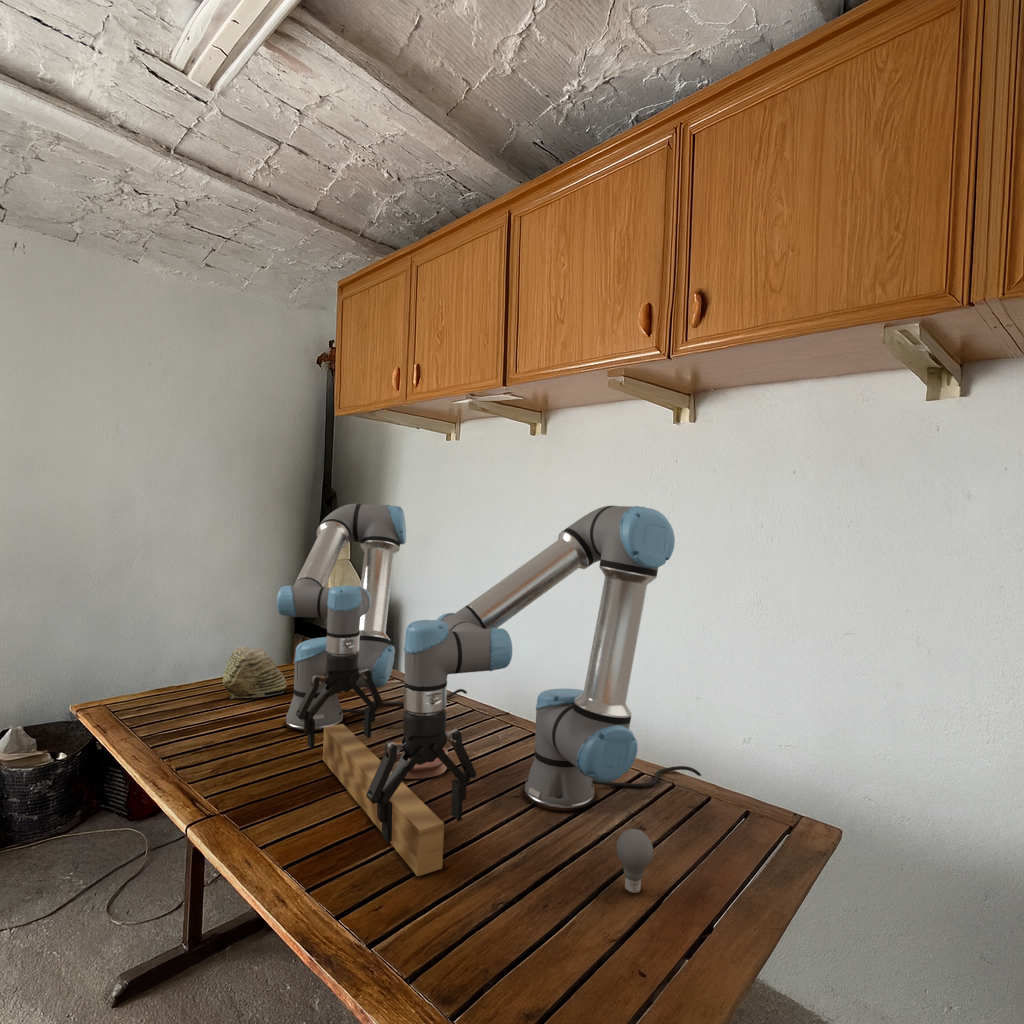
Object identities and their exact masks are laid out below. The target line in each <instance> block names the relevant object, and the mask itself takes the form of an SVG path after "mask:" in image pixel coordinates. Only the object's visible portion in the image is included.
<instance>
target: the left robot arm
mask: <svg viewBox="0 0 1024 1024" xmlns="http://www.w3.org/2000/svg"><path fill="white" fill-rule="evenodd" d="M405 517H406V516H405V512H404V510H403V508H402V507H401V506H400V505H399V506H398V505H391V504H390V505H389V504H368V503H348V504H345V505H342V506H340V507H338V508H336V509H334V510H333V511H332V512H330V513H329V514H328V515H327V516H325V517H324V518H323V520H322V521H321V522H320V524H319V525H318V527H317V530H316V540H315V541H314V544H313V545H312V547H311V550H310V552H309V553H308V556H307V558H306V560H305V562H304V564H303V566H302V568H301V569H300V572H299V574H298V576H297V577H296V580H295V582H294V584H293V585H291V584H290V585H283V586H282V587H280V588H279V590H278V593H277V595H276V609H277V612H278V614H279V615H280V616H284V617H294V618H323V619H326V636H323V637H322V636H321V637H315V638H311V639H307V640H304V641H302V642H300V643H298V644H297V645H296V648H295V655H294V660H293V662H294V672H293V673H294V674H293V695H292V696H293V697H292V699H291V702H290V704H289V708H288V711H287V713H286V715H285V726H286V728H287V729H289V730H291V731H294V732H295V731H296V732H301V733H305V734H306V735H307V746H308V748H309V749H310V750H312V749H315V738H316V737H315V735H316V732H324V727H327V726H333V725H340V724H343V722H344V714H343V713H351V714H353V713H354V714H362V713H363V714H364V724H363V735H364V736H365V737H366V738H367V739H370V738H372V723H375V721H376V711H378V708H379V707H382V706H404V701H383V699H382V696H381V695H380V693H379V690H378V689H379V688H380V689H381V688H384V687H385V686H386V685H387V684H388V682H389V680H390V677H391V675H392V671H393V668H394V662H395V653H396V650H395V649H396V648H395V646H394V645H392V644H391V638H390V637H389V636H388V635H387V633H386V632H387V622H388V615H389V614H388V613H389V604H390V595H391V586H392V575H393V566H394V557H395V554H397V553H398V552H399V551H400V548H401V546H402V545H405V544H406V542H407V528H406V518H405ZM352 542H353V543H360V544H359V546H360V547H359V548H360V549H362V551H363V552H364V555H363V562H362V563H363V564H362V571H361V577H360V579H361V580H360V586H359V585H337V586H332V587H326V586H327V584H328V582H329V580H330V577H331V575H332V572H333V571H334V568H335V565H336V563H337V561H338V558H339V557H340V555H341V552H342V550H343V548H346V546H347V545H348V544H349V543H352ZM362 688H363V689H364V688H366V689H368V690H369V692H370V695H371V696H372V698H373V701H372V700H371V699H370V698H369V697H368V695H367V694H366V693H365V692H364V691H363V690H362ZM351 690H352V691H354V692H355V693H356V695H358V696H359V698H360V699H361V700H362V701H363V702H364V703H365V704H366V705H367V707H364V709H353V708H352V709H350V708H349V709H347V708H342V706H341V702H340V699H339V695H338V694H341V693H348V692H350V691H351ZM458 693H463V694H465V695H466V694H468V692H467V690H465V689H463V688H458V689H457V690H455V691H453V692H451V693H448V694H447V697H446V699H449V698H451V697H453V696H455V695H457V694H458Z"/></svg>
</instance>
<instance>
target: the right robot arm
mask: <svg viewBox="0 0 1024 1024" xmlns="http://www.w3.org/2000/svg"><path fill="white" fill-rule="evenodd" d="M674 532H675V531H674V529H673V526H672V524H671V523H670V522H669V520H668V518H667V517H666V516H665V515H664V514H663V513H662V512H660V511H659V510H657V509H654V508H650V507H645V506H639V505H633V506H632V505H630V506H629V505H627V506H626V505H606V506H605V505H604V506H602V507H598V508H596V509H594V510H592V511H590V512H588V513H587V514H585V515H584V516H582V517H581V518H579V519H577V520H576V521H575V522H573V523H572V524H570V525H569V526H568V527H566V528H564V529H563V530H561V532H559V533H558V536H557V540H556V541H554V542H553V543H551V544H550V545H549V546H547V547H546V548H545V549H543V550H542V551H540V552H539V553H538V554H537V555H535V556H534V557H532V558H531V559H529V560H528V561H527V562H525V563H524V564H522V565H521V566H519V567H518V568H517V569H515V570H514V571H512V572H511V573H509V575H507V576H505V577H504V578H503V579H501V580H500V581H499V582H497V583H496V584H495V585H493V586H491V587H490V588H489V589H488V590H486V591H484V592H483V593H481V595H479V596H478V597H476V598H474V600H472V601H471V602H469V603H468V604H466V605H465V606H464V607H462V608H461V609H460V610H458V611H456V612H447V613H443V614H442V615H440V616H439V617H437V619H420V620H419V619H418V620H415V621H412V622H410V623H409V624H407V626H406V628H405V637H404V647H403V652H404V684H403V702H404V705H403V709H404V711H403V717H402V718H403V721H402V732H403V737H402V739H401V741H399V742H398V741H397V742H393V741H392V740H387V741H386V742H385V744H384V746H385V747H384V754H383V757H382V758H381V760H380V761H381V763H380V765H379V767H378V769H377V772H376V774H375V776H374V778H373V781H372V783H371V785H370V787H369V789H368V792H367V794H366V796H367V798H368V799H369V800H370V801H371V802H372V803H373V804H375V803H377V818H378V820H379V821H380V822H381V823H382V832H381V836H382V838H383V839H384V840H385V841H386V843H390V842H391V841H392V803H391V802H390V801H389V800H390V798H391V797H392V795H393V794H394V792H395V791H396V790H397V788H398V787H399V785H400V784H401V782H403V781H404V778H405V776H406V775H407V773H408V772H409V771H410V770H412V769H413V767H414V766H415V765H416V764H418V765H421V764H424V763H426V762H434V760H435V759H436V758H437V757H438V758H439V759H440V761H441V762H442V763H443V764H444V765H445V766H446V767H447V770H448V771H449V772H450V773H451V774H452V775H453V776H454V777H455V779H452V780H451V807H450V808H451V810H450V811H451V812H450V815H451V817H453V818H454V820H456V821H457V822H461V821H463V800H466V798H467V786H469V784H470V783H471V780H470V779H474V778H476V777H477V771H476V769H475V767H474V765H473V763H472V761H471V759H470V756H469V754H468V752H467V750H466V748H465V745H464V743H463V738H462V737H463V736H462V732H461V731H459V730H458V729H457V728H455V727H451V728H450V729H449V730H448V731H446V729H447V711H446V708H447V698H446V697H447V695H448V694H447V691H448V689H447V688H448V675H456V674H467V673H480V672H493V671H496V670H502V669H505V668H507V667H508V666H509V665H510V663H511V662H512V658H513V643H512V638H511V636H510V634H509V633H510V632H508V630H506V629H505V628H502V627H501V626H502V625H503V624H505V623H507V621H509V620H510V619H512V618H513V617H514V616H516V615H517V614H518V613H520V612H521V611H523V610H524V609H525V608H527V607H528V606H529V605H531V604H532V603H534V602H535V601H536V600H537V599H539V598H540V597H542V596H543V595H544V594H545V593H547V592H548V591H550V590H552V588H554V587H555V586H556V585H558V584H560V582H562V581H563V580H565V579H567V577H569V576H570V575H571V574H572V573H574V572H575V571H577V570H578V569H579V570H580V569H581V570H586V569H587V568H589V567H590V566H592V565H593V564H595V563H597V562H599V566H598V567H599V569H600V571H601V572H602V574H603V576H604V581H603V586H602V591H601V597H600V601H599V608H598V611H597V618H596V624H595V628H594V635H593V639H592V646H591V651H590V656H589V659H588V660H589V661H588V666H587V671H586V677H585V682H584V688H583V689H578V688H551V689H546V690H543V691H541V692H540V693H539V694H538V695H537V700H536V704H535V705H536V706H535V712H536V713H535V731H534V733H535V734H534V757H533V761H532V764H531V766H530V769H529V773H528V776H527V777H526V779H525V783H524V796H525V798H526V799H527V800H528V802H530V803H531V804H533V805H534V806H537V807H538V808H542V809H545V810H549V811H555V812H577V811H580V810H583V809H586V808H588V807H589V806H591V805H592V804H593V803H594V800H595V786H594V785H599V786H608V787H609V786H610V787H620V788H621V787H622V788H649V787H651V786H654V785H655V784H656V783H657V782H658V780H659V776H660V775H661V774H663V773H667V772H668V773H669V772H672V771H689V772H691V773H694V774H695V775H696V776H699V777H701V776H702V774H701V773H700V771H698V770H697V769H695V768H693V767H692V766H691V767H690V766H687V765H676V766H669V767H665V768H661V769H658V770H657V771H656V772H655V774H654V778H653V779H652V780H651V781H648V782H643V783H642V782H641V783H629V782H615V781H618V780H619V779H620V778H622V777H623V775H624V774H627V773H628V771H629V770H630V769H631V768H632V767H633V765H634V763H635V761H636V758H637V754H638V741H637V739H636V737H635V735H634V733H633V731H632V730H630V726H631V720H632V711H631V709H630V708H629V706H628V704H627V699H628V694H629V693H628V692H629V687H630V682H631V677H632V671H633V666H634V661H635V655H636V649H637V643H638V639H639V632H640V629H641V628H640V627H641V622H642V616H643V610H644V605H645V600H646V594H647V588H648V585H649V584H651V583H652V582H653V581H655V580H657V578H658V577H657V576H658V571H659V568H660V567H662V566H665V564H666V563H667V561H669V560H670V559H671V557H672V555H673V553H674V550H675V546H676V545H675V542H676V539H675V533H674ZM447 742H449V743H450V744H451V746H452V748H453V750H454V753H455V755H456V757H457V759H458V761H459V763H460V765H461V767H462V770H461V769H460V768H459V767H458V766H457V764H456V763H454V761H453V760H452V759H451V758H450V757H449V754H448V755H447V754H446V753H445V752H444V751H443V750H442V749H443V748H445V746H446V744H447ZM402 751H403V753H402V754H401V756H400V753H401V752H402ZM398 756H400V757H399V760H398V761H399V763H398V764H397V766H396V767H395V769H394V770H393V772H392V773H391V774H390V772H391V770H392V768H393V766H394V763H396V762H397V761H396V760H397V757H398ZM408 759H410V760H409V762H408ZM389 775H390V776H389Z"/></svg>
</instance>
